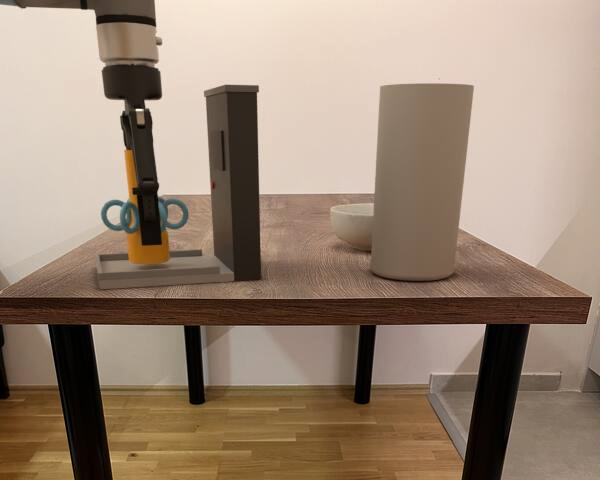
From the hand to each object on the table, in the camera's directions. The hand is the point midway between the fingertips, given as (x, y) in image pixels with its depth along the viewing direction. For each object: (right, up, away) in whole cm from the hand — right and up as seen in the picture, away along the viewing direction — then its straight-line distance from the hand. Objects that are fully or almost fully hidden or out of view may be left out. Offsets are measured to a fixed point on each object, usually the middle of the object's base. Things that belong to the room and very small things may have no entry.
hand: (147, 238), depth 93 cm
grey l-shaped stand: (+4, -4, +3) cm, 7 cm away
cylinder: (0, -3, +1) cm, 3 cm away
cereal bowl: (+36, +6, +25) cm, 44 cm away
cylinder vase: (+39, -4, +4) cm, 40 cm away
